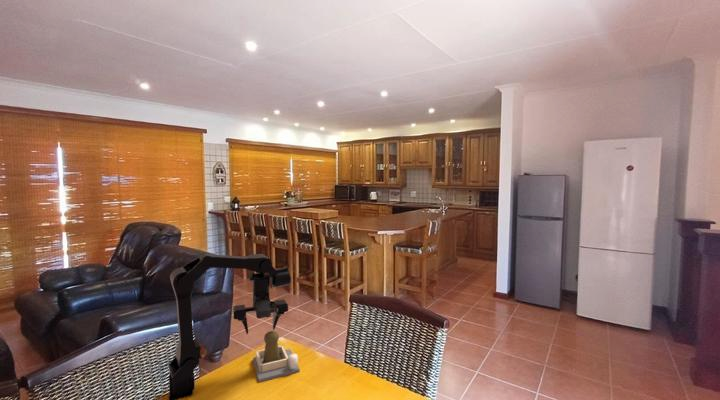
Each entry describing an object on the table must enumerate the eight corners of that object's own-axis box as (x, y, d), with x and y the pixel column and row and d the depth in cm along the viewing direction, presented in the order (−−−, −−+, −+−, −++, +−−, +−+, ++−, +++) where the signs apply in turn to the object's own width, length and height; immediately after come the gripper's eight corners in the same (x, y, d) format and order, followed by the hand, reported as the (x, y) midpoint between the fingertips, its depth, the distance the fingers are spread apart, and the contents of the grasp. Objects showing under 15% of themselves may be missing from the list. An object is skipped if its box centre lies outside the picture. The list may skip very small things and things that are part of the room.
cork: (277, 366, 115) (277, 337, 114) (260, 366, 115) (260, 336, 114) (281, 357, 121) (281, 329, 120) (265, 356, 121) (265, 328, 120)
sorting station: (258, 382, 108) (258, 368, 107) (252, 360, 120) (252, 347, 120) (299, 371, 114) (299, 358, 113) (290, 351, 126) (290, 339, 126)
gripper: (235, 301, 104) (234, 347, 105) (292, 294, 112) (291, 337, 113) (232, 289, 114) (232, 332, 116) (285, 284, 122) (284, 323, 123)
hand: (260, 331), depth 117 cm, fingers open, 9 cm apart
